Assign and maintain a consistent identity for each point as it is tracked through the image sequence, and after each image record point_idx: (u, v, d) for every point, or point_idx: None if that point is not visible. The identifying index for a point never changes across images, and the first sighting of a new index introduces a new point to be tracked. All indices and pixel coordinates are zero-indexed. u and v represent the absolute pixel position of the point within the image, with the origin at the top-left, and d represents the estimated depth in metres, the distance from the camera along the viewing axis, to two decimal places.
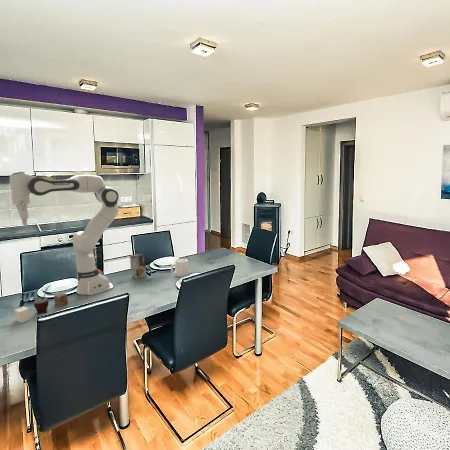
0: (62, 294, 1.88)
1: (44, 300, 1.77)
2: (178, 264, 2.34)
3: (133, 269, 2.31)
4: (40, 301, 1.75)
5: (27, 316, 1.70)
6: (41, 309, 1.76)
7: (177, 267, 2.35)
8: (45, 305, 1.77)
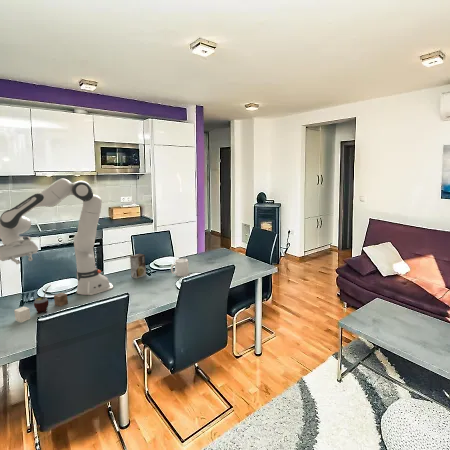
0: (62, 294, 1.88)
1: (44, 300, 1.77)
2: (178, 264, 2.34)
3: (133, 269, 2.31)
4: (40, 301, 1.75)
5: (27, 316, 1.70)
6: (41, 309, 1.76)
7: (177, 267, 2.35)
8: (45, 305, 1.77)
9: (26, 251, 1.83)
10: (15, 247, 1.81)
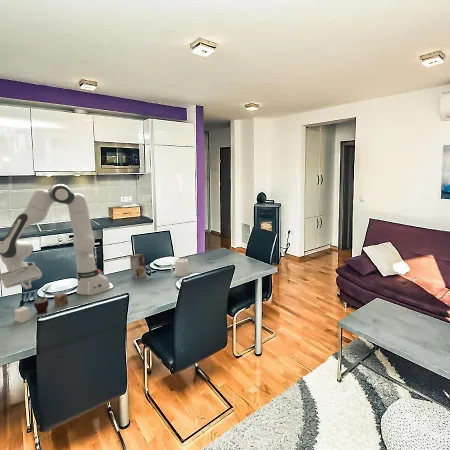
0: (62, 294, 1.88)
1: (44, 300, 1.77)
2: (178, 264, 2.34)
3: (133, 269, 2.31)
4: (40, 301, 1.75)
5: (27, 316, 1.70)
6: (41, 309, 1.76)
7: (177, 267, 2.35)
8: (45, 305, 1.77)
9: (30, 277, 1.86)
10: (19, 273, 1.83)
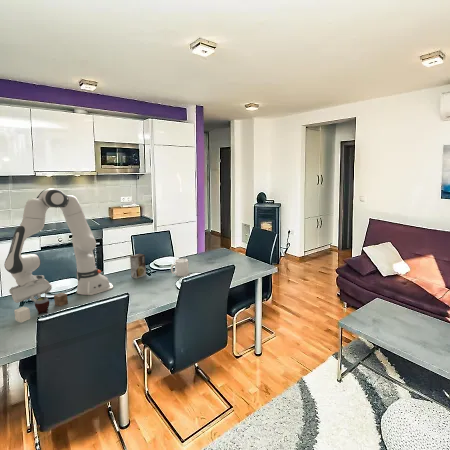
0: (62, 294, 1.88)
1: (45, 300, 1.76)
2: (178, 264, 2.34)
3: (133, 269, 2.31)
4: (41, 301, 1.75)
5: (27, 316, 1.70)
6: (42, 309, 1.76)
7: (177, 267, 2.35)
8: (46, 305, 1.77)
9: (40, 291, 1.83)
10: (29, 287, 1.81)
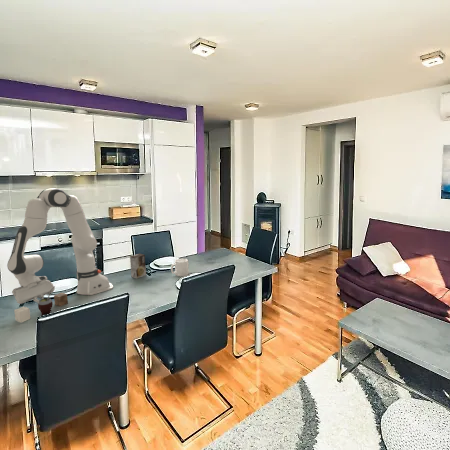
0: (62, 294, 1.88)
1: (48, 302, 1.75)
2: (178, 264, 2.34)
3: (133, 269, 2.31)
4: (44, 303, 1.73)
5: (27, 316, 1.70)
6: (45, 311, 1.74)
7: (177, 267, 2.35)
8: (49, 307, 1.75)
9: (43, 292, 1.82)
10: (32, 288, 1.79)
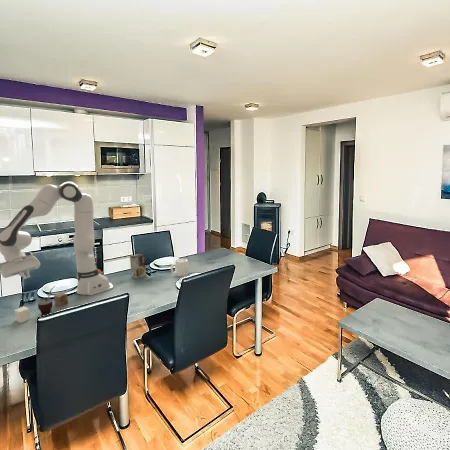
0: (62, 294, 1.88)
1: (48, 301, 1.75)
2: (178, 264, 2.34)
3: (133, 269, 2.31)
4: (44, 303, 1.73)
5: (27, 316, 1.70)
6: (45, 311, 1.74)
7: (177, 267, 2.35)
8: (49, 307, 1.75)
9: (28, 267, 1.85)
10: (17, 263, 1.83)
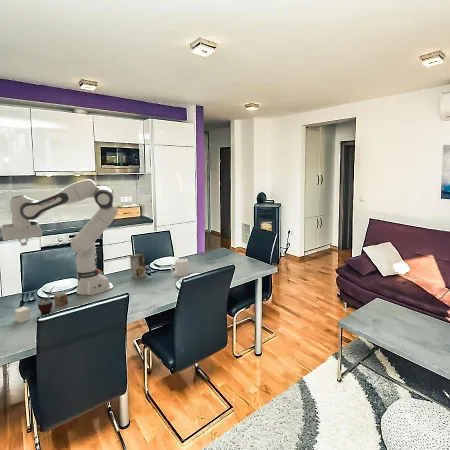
0: (62, 294, 1.88)
1: (48, 301, 1.75)
2: (178, 264, 2.34)
3: (133, 269, 2.31)
4: (44, 303, 1.73)
5: (27, 316, 1.70)
6: (45, 311, 1.74)
7: (177, 267, 2.35)
8: (49, 307, 1.75)
9: (28, 236, 1.90)
10: (20, 230, 1.87)
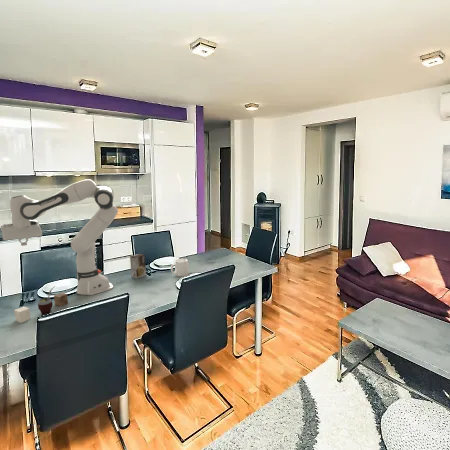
0: (62, 294, 1.88)
1: (48, 301, 1.75)
2: (178, 264, 2.34)
3: (133, 269, 2.31)
4: (44, 303, 1.73)
5: (27, 316, 1.70)
6: (45, 311, 1.74)
7: (177, 267, 2.35)
8: (49, 307, 1.75)
9: (28, 236, 1.90)
10: (20, 230, 1.87)
